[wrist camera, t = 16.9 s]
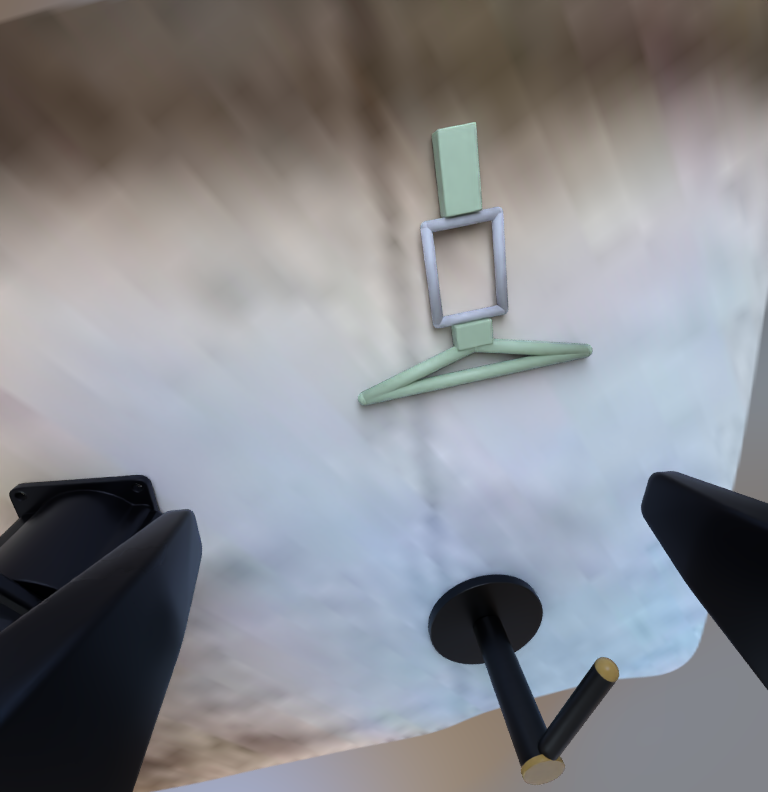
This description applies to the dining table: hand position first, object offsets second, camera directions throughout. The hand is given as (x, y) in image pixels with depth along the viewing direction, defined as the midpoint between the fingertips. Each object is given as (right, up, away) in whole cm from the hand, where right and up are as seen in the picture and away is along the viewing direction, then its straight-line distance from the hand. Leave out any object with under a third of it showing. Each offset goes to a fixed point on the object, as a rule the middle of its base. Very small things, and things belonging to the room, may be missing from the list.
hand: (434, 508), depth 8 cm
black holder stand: (+7, -12, +20) cm, 24 cm away
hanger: (+4, +3, +13) cm, 14 cm away
